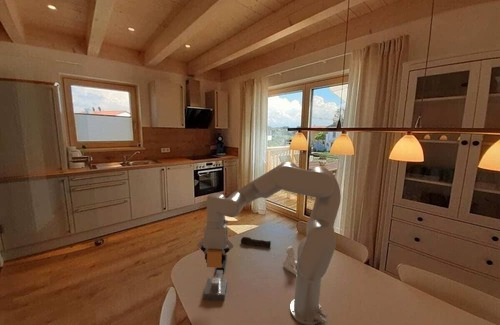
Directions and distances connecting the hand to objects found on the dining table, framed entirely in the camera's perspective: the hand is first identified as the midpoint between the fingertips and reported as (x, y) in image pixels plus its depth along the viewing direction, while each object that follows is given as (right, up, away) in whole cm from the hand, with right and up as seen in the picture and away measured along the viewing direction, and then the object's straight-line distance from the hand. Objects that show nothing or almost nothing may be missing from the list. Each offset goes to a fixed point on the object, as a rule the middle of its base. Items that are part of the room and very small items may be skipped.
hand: (215, 260), depth 93 cm
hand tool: (+19, -10, +41) cm, 46 cm away
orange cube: (0, -1, 0) cm, 1 cm away
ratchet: (0, -14, +12) cm, 18 cm away
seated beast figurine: (+37, -14, +20) cm, 44 cm away
